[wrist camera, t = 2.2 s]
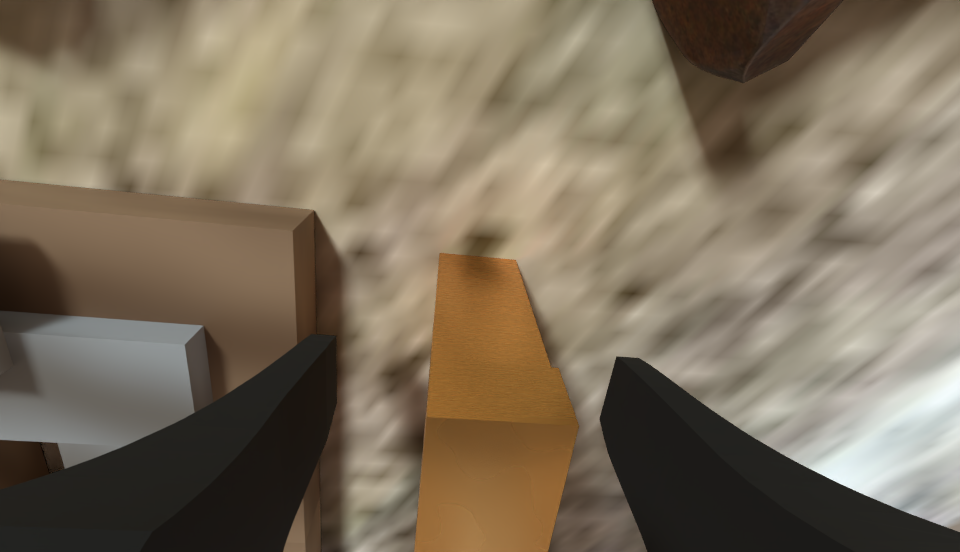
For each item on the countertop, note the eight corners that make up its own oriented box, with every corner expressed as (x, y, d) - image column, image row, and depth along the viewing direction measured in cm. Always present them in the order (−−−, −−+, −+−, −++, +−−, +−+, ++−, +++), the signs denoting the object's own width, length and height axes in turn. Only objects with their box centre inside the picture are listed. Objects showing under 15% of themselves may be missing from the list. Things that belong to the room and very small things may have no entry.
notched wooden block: (497, 373, 17) (533, 611, 9) (429, 368, 16) (409, 609, 9) (516, 251, 15) (579, 425, 7) (440, 243, 15) (426, 416, 7)
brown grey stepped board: (322, 603, 21) (293, 717, 17) (-75, 594, 19) (-198, 715, 16) (313, 209, 14) (263, 258, 10) (-306, 149, 12) (-623, 181, 9)
